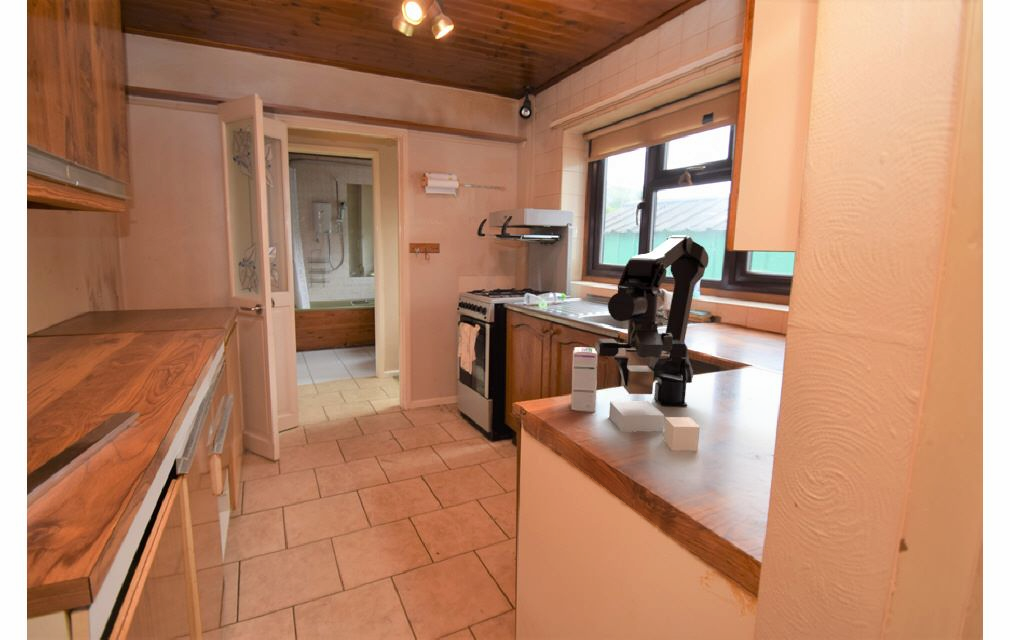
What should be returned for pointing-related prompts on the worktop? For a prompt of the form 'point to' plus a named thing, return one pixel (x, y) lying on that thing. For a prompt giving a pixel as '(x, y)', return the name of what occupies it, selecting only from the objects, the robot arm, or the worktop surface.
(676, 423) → the cream cube
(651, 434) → the worktop surface
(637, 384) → the walnut cube
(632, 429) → the base block
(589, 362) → the syrup box
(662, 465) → the worktop surface
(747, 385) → the worktop surface
